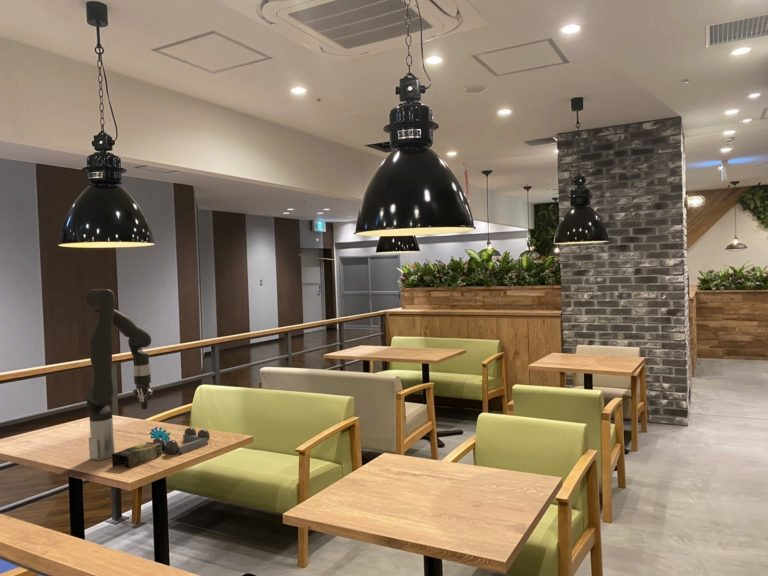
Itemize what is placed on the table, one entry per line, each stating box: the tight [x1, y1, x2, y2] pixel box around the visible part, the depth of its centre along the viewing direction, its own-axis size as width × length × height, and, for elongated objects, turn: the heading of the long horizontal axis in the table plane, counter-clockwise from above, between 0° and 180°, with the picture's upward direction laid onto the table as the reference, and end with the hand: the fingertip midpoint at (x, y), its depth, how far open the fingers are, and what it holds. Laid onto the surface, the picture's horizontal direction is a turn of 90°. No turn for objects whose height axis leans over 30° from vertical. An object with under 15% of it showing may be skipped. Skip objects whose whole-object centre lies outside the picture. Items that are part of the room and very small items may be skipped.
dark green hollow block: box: [111, 441, 163, 469], centre depth 253 cm, size 20×10×6 cm, turn 156°
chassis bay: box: [152, 426, 211, 455], centre depth 270 cm, size 20×16×6 cm
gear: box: [149, 426, 172, 444], centre depth 278 cm, size 11×6×10 cm
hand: (144, 409), depth 283 cm, fingers closed
